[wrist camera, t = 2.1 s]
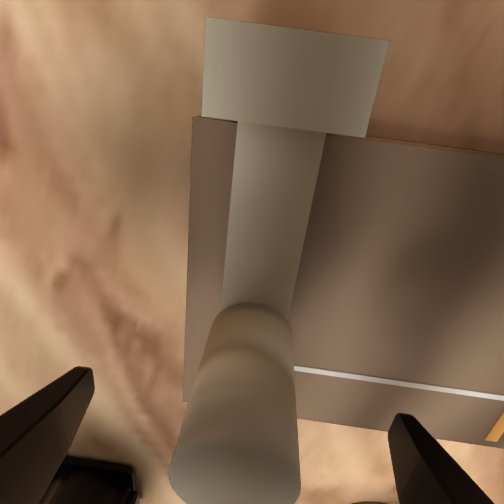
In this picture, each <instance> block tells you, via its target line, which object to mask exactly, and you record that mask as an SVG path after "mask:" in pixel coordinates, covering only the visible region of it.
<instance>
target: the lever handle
mask: <svg viewBox="0 0 504 504" xmlns="http://www.w3.org/2000/svg"><path fill="white" fill-rule="evenodd" d="M389 42H390V40H383V39H375V38H367V37H359V36H351V35H343V34H336V33H328V32H320V31H312V30H304V29H296V28H289V27H281V26H273V25H265V24H257V23H249V22H241V21H234V20H226V19H218V18H210V17H206V24H205V46H204V68H203V90H202V112H201V116H203V117H210V118H218V119H225V120H233V121H238V124H237V135H236V146H235V157H234V168H233V179H232V190H231V200H230V211H229V222H228V233H227V244H226V255H225V266H224V277H223V288H222V299H221V310H220V313H219V314H218V315H217V316H216V318H215V319H214V321H213V323H212V326H211V329H210V332H209V335H208V339H207V342H206V346H205V349H204V352H203V356H202V359H201V363H200V366H199V369H198V373H197V376H196V380H195V383H194V386H193V390H192V393H191V397H190V400H189V403H188V407H187V410H186V414H185V417H184V420H183V424H182V427H181V431H180V434H179V437H178V441H177V444H176V448H175V451H174V454H173V458H172V461H171V465H170V468H169V480H170V484H171V486H172V488H173V490H174V491H175V492H176V494H177V495H178V496H179V497H180V498H181V499H182V500H184V501H185V502H186V503H187V504H294V503H295V502H296V500H297V499H298V497H299V494H300V490H301V481H300V463H299V446H298V429H297V412H296V395H295V378H294V361H293V344H292V332H291V328H290V326H289V324H288V322H287V321H288V317H289V312H290V307H291V302H292V297H293V292H294V287H295V283H296V278H297V273H298V268H299V263H300V258H301V254H302V249H303V244H304V239H305V234H306V229H307V224H308V220H309V215H310V210H311V205H312V200H313V195H314V191H315V186H316V181H317V176H318V171H319V166H320V161H321V157H322V152H323V147H324V142H325V137H326V133H331V134H338V135H346V136H354V137H361V138H365V136H366V132H367V128H368V124H369V120H370V116H371V112H372V108H373V105H374V101H375V97H376V93H377V89H378V85H379V81H380V77H381V73H382V70H383V66H384V62H385V58H386V54H387V50H388V46H389Z"/></svg>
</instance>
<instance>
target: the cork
mask: <svg viewBox="0 0 504 504" xmlns="http://www.w3.org/2000/svg"><path fill="white" fill-rule="evenodd" d="M354 504H384V503H379V502H361V503H354Z"/></svg>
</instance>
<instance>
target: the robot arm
mask: <svg viewBox="0 0 504 504" xmlns="http://www.w3.org/2000/svg"><path fill="white" fill-rule="evenodd" d="M94 389H95V386H94V378H93V371H92V369H91V368H89V367H82V366H77V367H75V368H73V369H72V370H70V371H69V372H67V373H65V374H64V375H62V376H61V377H59V378H58V379H56V380H55V381H53V382H52V383H50V384H48V385H47V386H45V387H44V388H42V389H41V390H39V391H38V392H36V393H35V394H33V395H31V396H30V397H28V398H27V399H25V400H24V401H22V402H21V403H19V404H18V405H16V406H14V407H13V408H11V409H10V410H8V411H7V412H5V413H4V414H2V415H1V416H0V504H139V494H138V492H137V491H136V483H135V471H134V469H133V468H131V467H129V466H123V465H116V464H109V463H103V462H96V461H89V460H83V459H76V458H69V457H65V455H66V454H67V452H68V450H69V448H70V446H71V444H72V442H73V439H74V437H75V435H76V433H77V430H78V428H79V426H80V424H81V421H82V419H83V417H84V415H85V412H86V410H87V408H88V406H89V404H90V401H91V399H92V397H93V394H94ZM388 442H389V448H390V454H391V460H392V465H393V471H394V477H395V483H396V489H397V494H398V499H399V503H400V504H494V503H493V502H492V500H491V499H490V498H489V497H488V496H487V495H486V494H485V493H484V492H483V491H482V490H481V489H480V487H479V486H478V485H477V484H476V483H475V482H474V481H473V480H472V479H471V478H470V477H469V475H468V474H467V473H466V472H465V471H464V470H463V469H462V468H461V467H460V466H459V465H458V464H457V462H456V461H455V460H454V459H453V458H452V457H451V456H450V455H449V454H448V453H447V452H446V450H445V449H444V448H443V447H442V446H441V445H440V444H439V443H438V442H437V441H436V440H435V439H434V437H433V436H432V435H431V434H430V433H429V432H428V431H427V430H426V429H425V428H424V427H423V425H422V424H421V423H420V422H419V421H418V420H417V419H416V418H415V417H414V416H413V415H411V414H406V413H397V414H396V415H395V417H394V420H393V422H392V424H391V426H390V428H389V431H388Z"/></svg>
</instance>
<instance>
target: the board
mask: <svg viewBox="0 0 504 504" xmlns="http://www.w3.org/2000/svg"><path fill="white" fill-rule="evenodd" d="M237 124H238V121H233V120H225V119H218V118H210V117H203V116H196V117H193V123H192V152H191V181H190V210H189V239H188V268H187V297H186V326H185V355H184V384H183V402H189V400H190V397H191V393H192V390H193V386H194V383H195V380H196V376H197V373H198V369H199V366H200V363H201V359H202V356H203V352H204V349H205V346H206V342H207V339H208V335H209V332H210V329H211V326H212V323H213V321H214V319H215V318H216V316H217V315H218V314H219V313H220V310H221V299H222V288H223V277H224V266H225V255H226V244H227V233H228V222H229V211H230V200H231V190H232V179H233V168H234V157H235V146H236V135H237ZM287 322H288V324H289V326H290V328H291V332H292V344H293V361H294V378H295V395H296V412H297V418H298V419H305V420H312V421H319V422H326V423H332V424H339V425H346V426H353V427H360V428H367V429H373V430H380V431H387V432H388V431H389V428H390V426H391V424H392V422H393V420H394V417H395V415H396V414H397V413H406V414H411V415H413V416H414V417H415V418H416V419H417V420H418V421H419V422H420V423H421V424H422V425H423V427H424V428H425V429H426V430H427V431H428V432H429V433H430V434H431V435H432V436H433V437H434V438H435V439H442V440H449V441H455V442H462V443H469V444H476V445H483V446H490V447H497V448H503V449H504V154H499V153H491V152H484V151H476V150H469V149H461V148H453V147H446V146H438V145H431V144H423V143H416V142H408V141H400V140H393V139H385V138H378V137H370V136H365V138H361V137H354V136H346V135H338V134H331V133H326V137H325V142H324V147H323V152H322V157H321V161H320V166H319V171H318V176H317V181H316V186H315V191H314V195H313V200H312V205H311V210H310V215H309V220H308V224H307V229H306V234H305V239H304V244H303V249H302V254H301V258H300V263H299V268H298V273H297V278H296V283H295V287H294V292H293V297H292V302H291V307H290V312H289V317H288V321H287Z"/></svg>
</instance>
